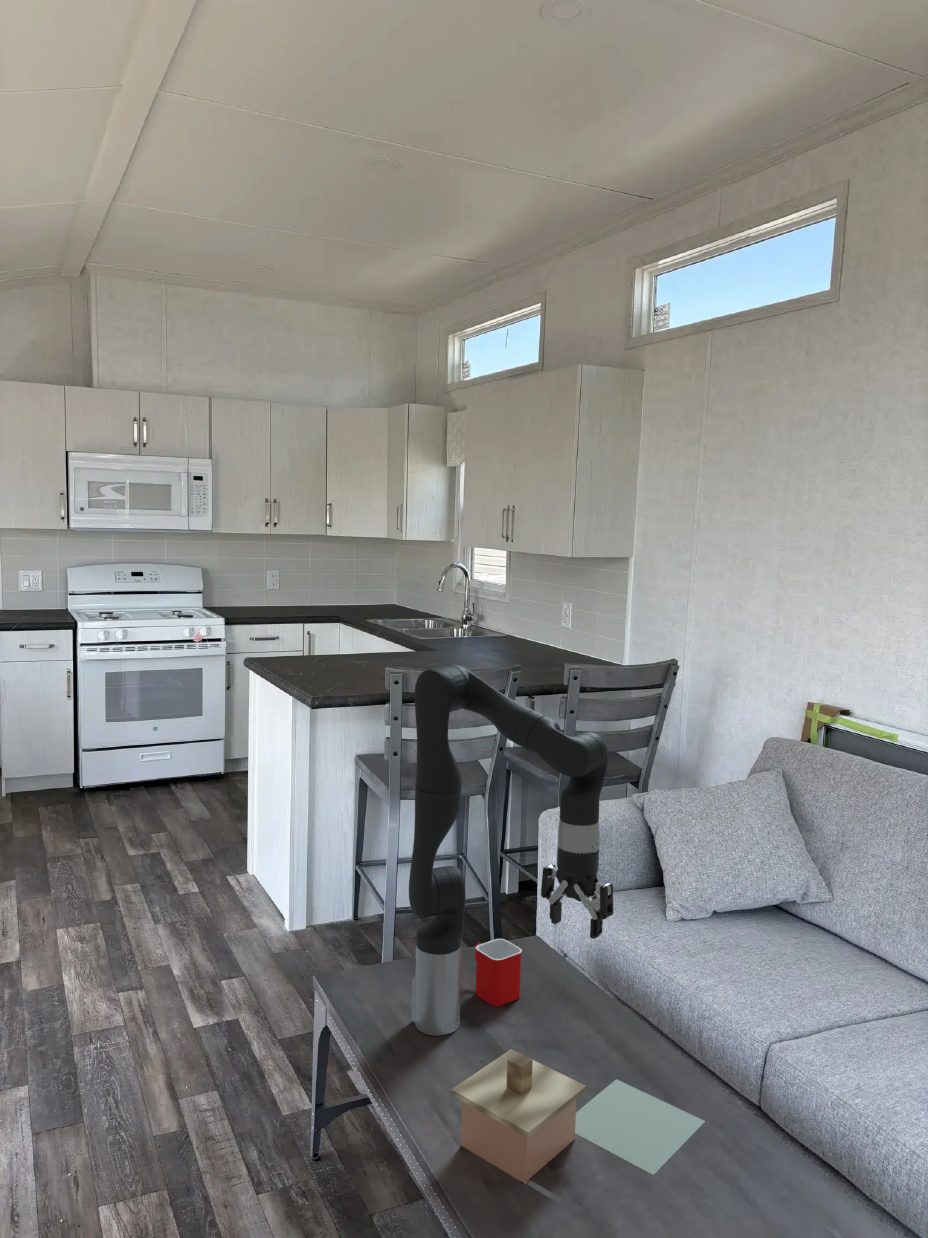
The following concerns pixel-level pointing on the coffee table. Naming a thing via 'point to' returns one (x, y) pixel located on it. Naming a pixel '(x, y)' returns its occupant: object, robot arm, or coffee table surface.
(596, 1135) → the mat
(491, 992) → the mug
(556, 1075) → the lid
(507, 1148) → the pink box
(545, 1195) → the coffee table surface
